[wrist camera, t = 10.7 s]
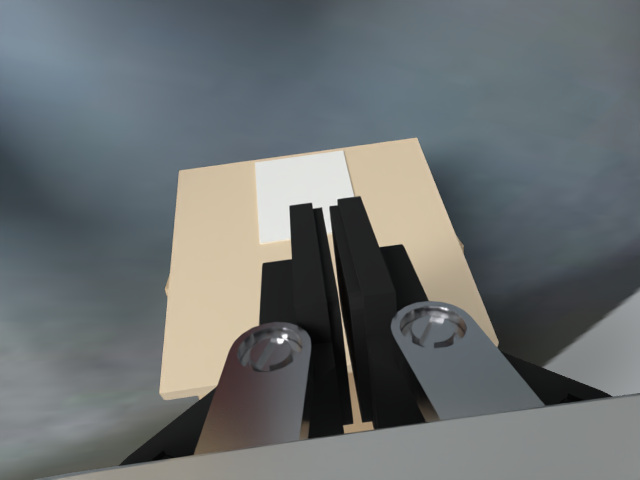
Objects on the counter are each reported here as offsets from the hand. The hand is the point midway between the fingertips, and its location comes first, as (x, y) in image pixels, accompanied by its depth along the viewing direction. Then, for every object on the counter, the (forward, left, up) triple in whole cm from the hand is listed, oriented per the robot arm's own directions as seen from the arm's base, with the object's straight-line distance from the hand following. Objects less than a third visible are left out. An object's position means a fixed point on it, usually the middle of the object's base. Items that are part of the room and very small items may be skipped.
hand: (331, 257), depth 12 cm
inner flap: (0, +5, -8) cm, 10 cm away
